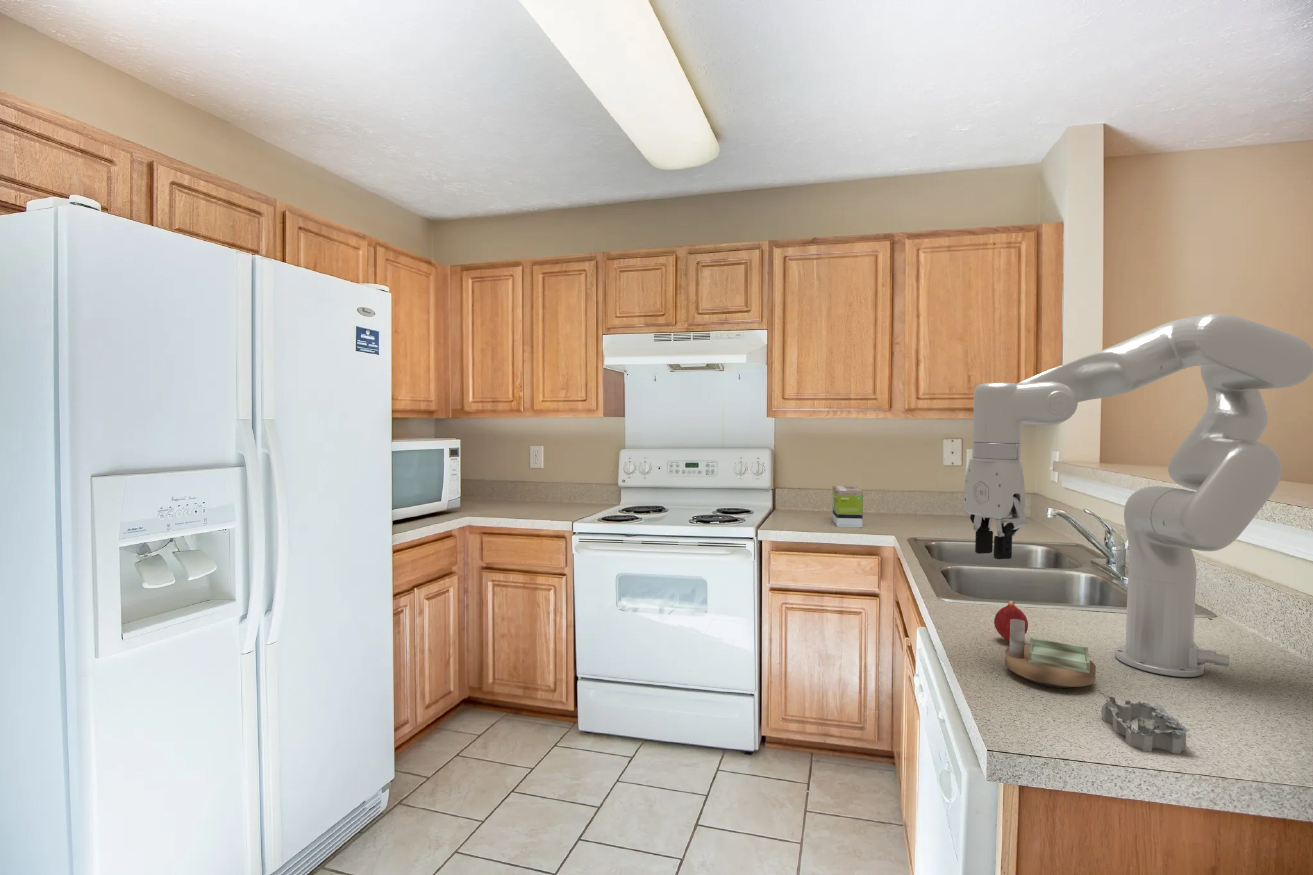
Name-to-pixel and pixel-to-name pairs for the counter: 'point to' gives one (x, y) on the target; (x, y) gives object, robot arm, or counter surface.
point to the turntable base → (1048, 684)
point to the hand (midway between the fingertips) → (993, 554)
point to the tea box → (848, 506)
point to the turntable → (1048, 659)
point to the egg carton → (1145, 725)
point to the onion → (1008, 619)
